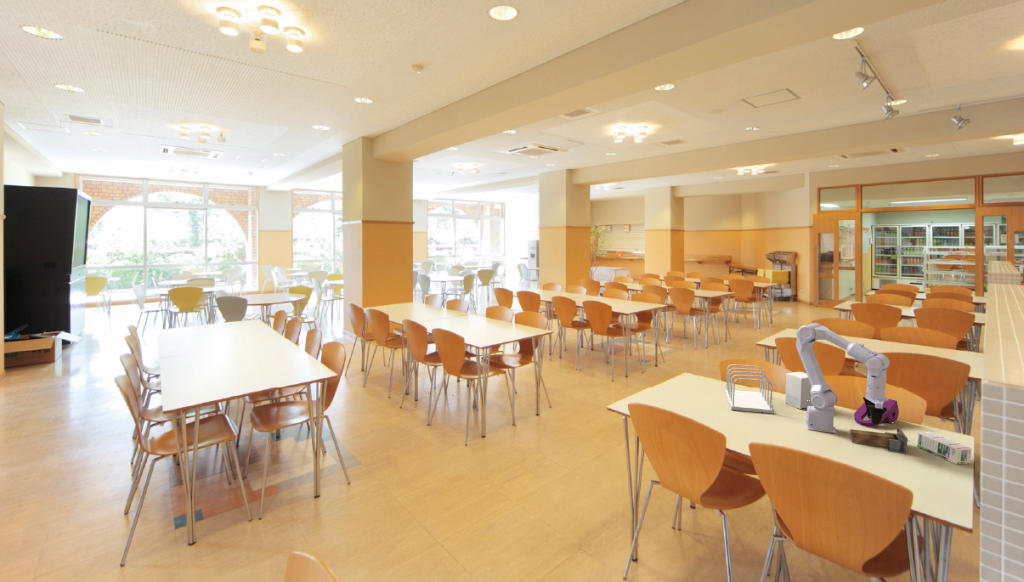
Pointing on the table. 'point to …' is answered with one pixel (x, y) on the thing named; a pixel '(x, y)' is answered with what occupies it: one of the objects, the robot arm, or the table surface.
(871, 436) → the rail
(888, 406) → the mounting bracket
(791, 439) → the table surface
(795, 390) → the supplement box
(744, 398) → the file sorter
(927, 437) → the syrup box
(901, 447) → the bracket
